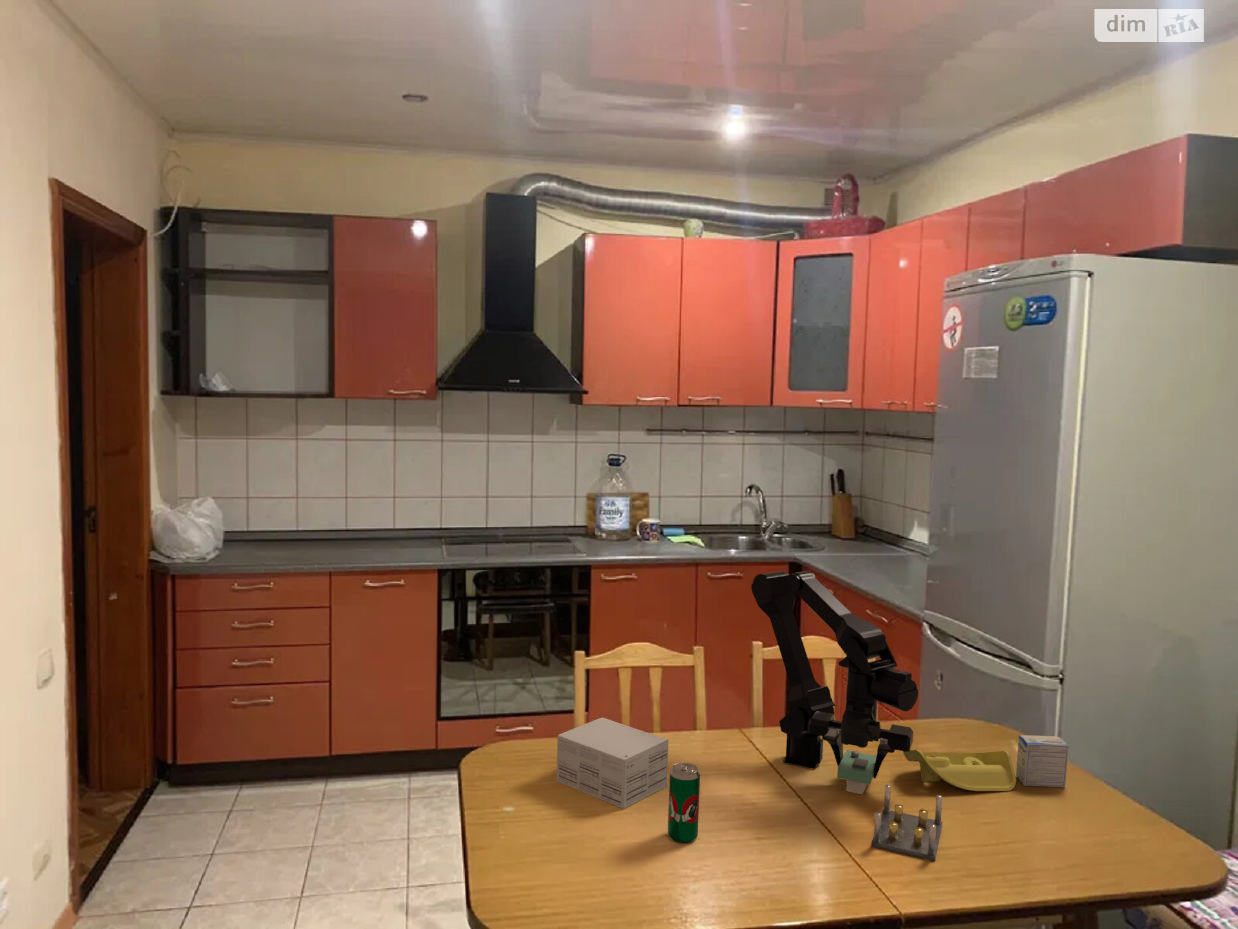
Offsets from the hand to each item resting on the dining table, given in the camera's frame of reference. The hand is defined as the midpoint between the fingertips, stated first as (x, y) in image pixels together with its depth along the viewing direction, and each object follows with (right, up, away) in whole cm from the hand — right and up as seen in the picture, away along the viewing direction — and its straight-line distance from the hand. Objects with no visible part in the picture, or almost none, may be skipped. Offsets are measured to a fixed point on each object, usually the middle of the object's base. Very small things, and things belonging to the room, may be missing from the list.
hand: (857, 774), depth 172 cm
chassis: (+4, -4, -18) cm, 19 cm away
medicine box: (+37, -3, +5) cm, 37 cm away
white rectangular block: (0, -3, 0) cm, 2 cm away
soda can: (-35, -4, -20) cm, 40 cm away
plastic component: (+20, -3, +5) cm, 21 cm away
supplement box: (-47, -2, -1) cm, 47 cm away
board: (0, 0, 0) cm, 0 cm away
